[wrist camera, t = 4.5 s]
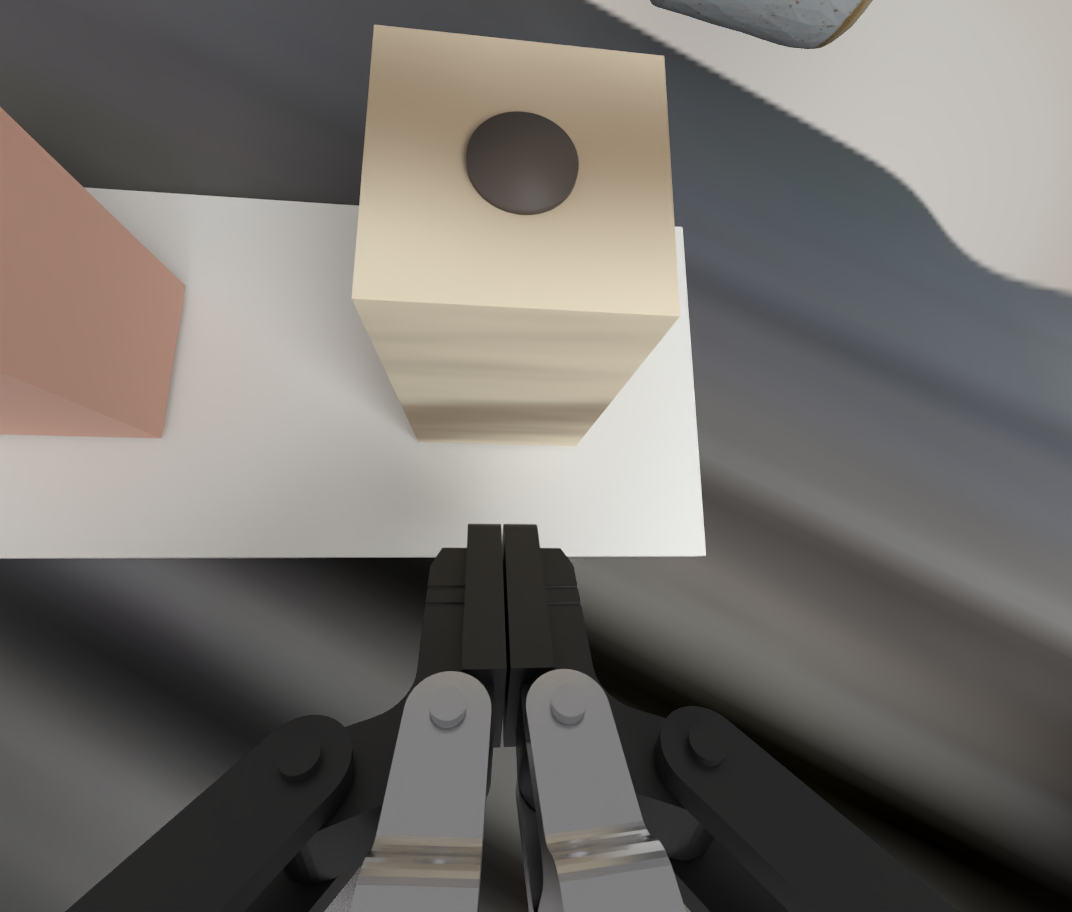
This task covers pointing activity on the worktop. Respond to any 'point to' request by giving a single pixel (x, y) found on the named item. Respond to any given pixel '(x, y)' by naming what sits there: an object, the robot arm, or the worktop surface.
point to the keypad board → (331, 425)
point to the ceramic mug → (776, 18)
